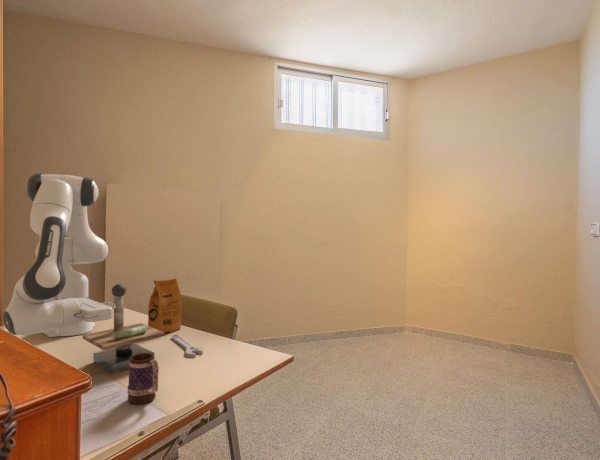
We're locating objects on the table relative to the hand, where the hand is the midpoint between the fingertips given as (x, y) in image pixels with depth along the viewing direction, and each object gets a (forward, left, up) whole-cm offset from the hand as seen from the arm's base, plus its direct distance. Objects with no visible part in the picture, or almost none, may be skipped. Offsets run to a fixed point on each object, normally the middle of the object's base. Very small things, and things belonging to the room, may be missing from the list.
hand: (114, 305), depth 133 cm
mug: (+32, -14, -19) cm, 40 cm away
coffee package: (-12, +33, -19) cm, 40 cm away
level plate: (+4, +1, -10) cm, 11 cm away
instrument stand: (+4, +1, -19) cm, 19 cm away
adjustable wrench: (+10, +23, -19) cm, 32 cm away
